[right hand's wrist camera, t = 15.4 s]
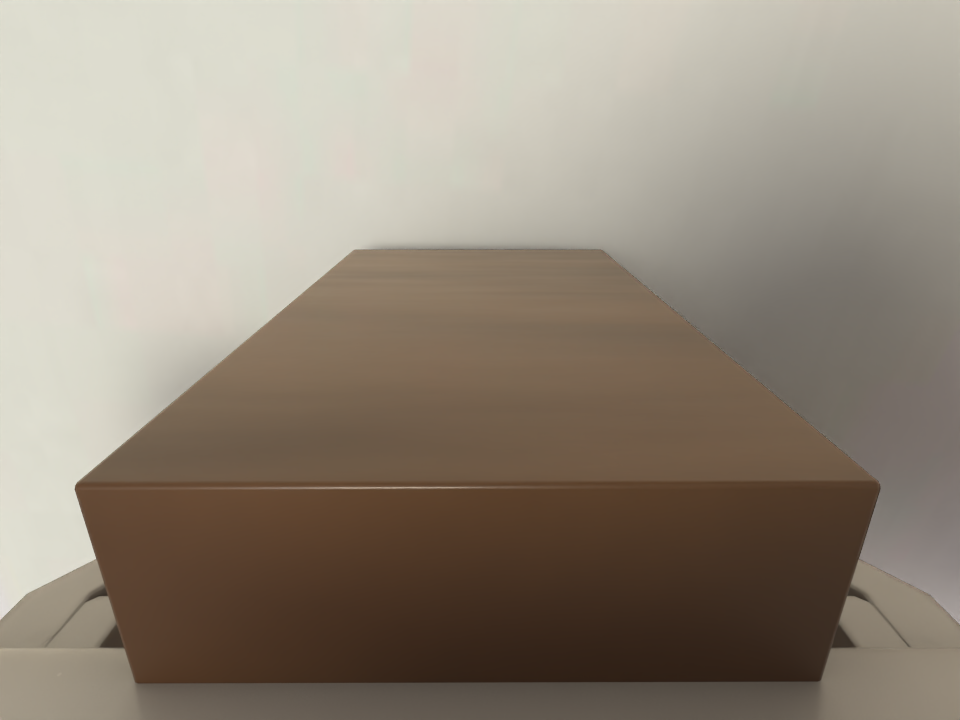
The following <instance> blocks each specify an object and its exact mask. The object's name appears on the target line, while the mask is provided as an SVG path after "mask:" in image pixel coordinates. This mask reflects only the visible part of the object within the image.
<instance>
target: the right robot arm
mask: <svg viewBox="0 0 960 720" xmlns="http://www.w3.org/2000/svg"><path fill="white" fill-rule="evenodd" d="M0 720H960V625H959V624H958V623H957V622H956V621H955V620H954V619H953V618H952V617H951V616H950V615H949V614H948V613H947V612H946V611H945V610H944V609H943V608H942V607H941V606H940V605H939V604H938V603H937V602H936V601H935V600H934V599H933V598H932V597H931V596H930V595H929V594H927V593H925V592H923V591H921V590H919V589H917V588H915V587H913V586H911V585H909V584H907V583H905V582H903V581H901V580H900V579H898V578H896V577H894V576H892V575H890V574H888V573H886V572H884V571H882V570H880V569H878V568H876V567H874V566H872V565H870V564H868V563H866V562H864V561H862V560H860V559H858V563H857V566H856V569H855V572H854V576H853V579H852V582H851V585H850V588H849V592H848V595H847V598H846V601H845V605H844V608H843V611H842V614H841V618H840V621H839V624H838V627H837V630H836V634H835V637H834V640H833V643H832V647H831V650H830V653H829V656H828V660H827V663H826V666H825V669H824V672H823V676H822V679H821V680H820V681H818V682H498V683H141V684H138V683H136V682H135V681H134V678H133V675H132V671H131V668H130V665H129V662H128V659H127V655H126V652H125V649H124V646H123V642H122V639H121V636H120V633H119V630H118V626H117V623H116V620H115V617H114V614H113V610H112V607H111V604H110V601H109V598H108V594H107V591H106V588H105V585H104V582H103V578H102V575H101V572H100V569H99V566H98V562H97V559H95V560H93V561H91V562H89V563H87V564H86V565H84V566H82V567H80V568H78V569H76V570H74V571H72V572H70V573H68V574H66V575H64V576H62V577H60V578H58V579H56V580H54V581H52V582H50V583H48V584H46V585H44V586H42V587H40V588H38V589H36V590H34V591H32V592H30V593H28V594H26V595H25V596H24V597H23V598H22V599H21V600H20V601H19V602H18V603H17V604H16V605H15V606H14V607H13V608H12V609H11V610H10V611H9V612H8V613H7V614H6V615H5V616H4V617H3V618H2V619H1V620H0Z"/></svg>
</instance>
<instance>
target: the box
mask: <svg viewBox="0 0 960 720" xmlns="http://www.w3.org/2000/svg"><path fill="white" fill-rule="evenodd" d="M75 492H76V495H77V498H78V501H79V505H80V508H81V511H82V514H83V517H84V521H85V524H86V527H87V530H88V533H89V537H90V540H91V543H92V546H93V549H94V553H95V556H96V559H97V562H98V566H99V569H100V572H101V575H102V578H103V582H104V585H105V588H106V591H107V594H108V598H109V601H110V604H111V607H112V610H113V614H114V617H115V620H116V623H117V626H118V630H119V633H120V636H121V639H122V642H123V646H124V649H125V652H126V655H127V659H128V662H129V665H130V668H131V671H132V675H133V678H134V681H135V682H136V683H138V684H141V683H498V682H818V681H820V680H821V679H822V676H823V672H824V669H825V666H826V663H827V660H828V656H829V653H830V650H831V647H832V643H833V640H834V637H835V634H836V630H837V627H838V624H839V621H840V618H841V614H842V611H843V608H844V605H845V601H846V598H847V595H848V592H849V588H850V585H851V582H852V579H853V576H854V572H855V569H856V566H857V563H858V559H859V556H860V553H861V550H862V546H863V543H864V540H865V537H866V534H867V530H868V527H869V524H870V521H871V517H872V514H873V511H874V508H875V504H876V501H877V498H878V495H879V492H880V484H879V482H878V481H877V480H876V479H875V478H874V477H872V476H871V475H870V474H869V473H868V472H866V471H865V470H864V469H863V468H862V467H860V466H859V465H858V464H857V463H856V462H854V461H853V460H852V459H851V458H850V457H848V456H847V455H846V454H845V453H844V452H843V451H841V450H840V449H839V448H838V447H837V446H835V445H834V444H833V443H832V442H831V441H829V440H828V439H827V438H826V437H825V436H823V435H822V434H821V433H820V432H819V431H817V430H816V429H815V428H814V427H813V426H811V425H810V424H809V423H808V422H807V421H806V420H804V419H803V418H802V417H801V416H800V415H798V414H797V413H796V412H795V411H794V410H792V409H791V408H790V407H789V406H788V405H786V404H785V403H784V402H783V401H782V400H780V399H779V398H778V397H777V396H776V395H774V394H773V393H772V392H771V391H770V390H769V389H767V388H766V387H765V386H764V385H763V384H761V383H760V382H759V381H758V380H757V379H755V378H754V377H753V376H752V375H751V374H749V373H748V372H747V371H746V370H745V369H743V368H742V367H741V366H740V365H739V364H737V363H736V362H735V361H734V360H733V359H731V358H730V357H729V356H728V355H727V354H726V353H724V352H723V351H722V350H721V349H720V348H718V347H717V346H716V345H715V344H714V343H712V342H711V341H710V340H709V339H708V338H706V337H705V336H704V335H703V334H702V333H700V332H699V331H698V330H697V329H696V328H694V327H693V326H692V325H691V324H690V323H689V322H687V321H686V320H685V319H684V318H683V317H681V316H680V315H679V314H678V313H677V312H675V311H674V310H673V309H672V308H671V307H669V306H668V305H667V304H666V303H665V302H663V301H662V300H661V299H660V298H659V297H657V296H656V295H655V294H654V293H653V292H652V291H650V290H649V289H648V288H647V287H646V286H644V285H643V284H642V283H641V282H640V281H638V280H637V279H636V278H635V277H634V276H632V275H631V274H630V273H629V272H628V271H626V270H625V269H624V268H623V267H622V266H620V265H619V264H618V263H617V262H616V261H615V260H613V259H612V258H611V257H610V256H609V255H607V254H606V253H605V252H604V251H603V250H353V251H352V252H351V253H350V254H349V255H348V256H346V257H345V258H344V259H343V260H342V261H340V262H339V263H338V264H337V265H336V266H334V267H333V268H332V269H331V270H330V271H328V272H327V273H326V274H325V275H324V276H323V277H321V278H320V279H319V280H318V281H317V282H315V283H314V284H313V285H312V286H311V287H309V288H308V289H307V290H306V291H305V292H303V293H302V294H301V295H300V296H299V297H298V298H296V299H295V300H294V301H293V302H292V303H290V304H289V305H288V306H287V307H286V308H284V309H283V310H282V311H281V312H280V313H278V314H277V315H276V316H275V317H274V318H272V319H271V320H270V321H269V322H268V323H267V324H265V325H264V326H263V327H262V328H261V329H259V330H258V331H257V332H256V333H255V334H253V335H252V336H251V337H250V338H249V339H247V340H246V341H245V342H244V343H243V344H242V345H240V346H239V347H238V348H237V349H236V350H234V351H233V352H232V353H231V354H230V355H228V356H227V357H226V358H225V359H224V360H222V361H221V362H220V363H219V364H218V365H217V366H215V367H214V368H213V369H212V370H211V371H209V372H208V373H207V374H206V375H205V376H203V377H202V378H201V379H200V380H199V381H197V382H196V383H195V384H194V385H193V386H192V387H190V388H189V389H188V390H187V391H186V392H184V393H183V394H182V395H181V396H180V397H178V398H177V399H176V400H175V401H174V402H172V403H171V404H170V405H169V406H168V407H166V408H165V409H164V410H163V411H162V412H161V413H159V414H158V415H157V416H156V417H155V418H153V419H152V420H151V421H150V422H149V423H147V424H146V425H145V426H144V427H143V428H141V429H140V430H139V431H138V432H137V433H136V434H134V435H133V436H132V437H131V438H130V439H128V440H127V441H126V442H125V443H124V444H122V445H121V446H120V447H119V448H118V449H116V450H115V451H114V452H113V453H112V454H111V455H109V456H108V457H107V458H106V459H105V460H103V461H102V462H101V463H100V464H99V465H97V466H96V467H95V468H94V469H93V470H91V471H90V472H89V473H88V474H87V475H86V476H84V477H83V478H82V479H81V480H80V481H78V482H77V484H76V486H75Z"/></svg>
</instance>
